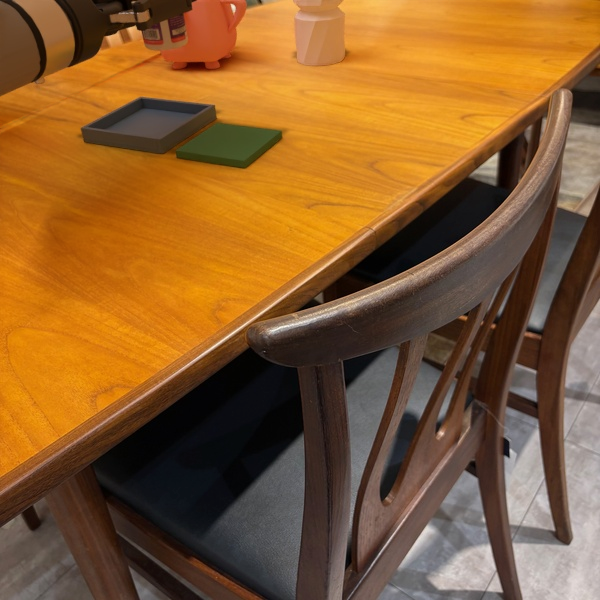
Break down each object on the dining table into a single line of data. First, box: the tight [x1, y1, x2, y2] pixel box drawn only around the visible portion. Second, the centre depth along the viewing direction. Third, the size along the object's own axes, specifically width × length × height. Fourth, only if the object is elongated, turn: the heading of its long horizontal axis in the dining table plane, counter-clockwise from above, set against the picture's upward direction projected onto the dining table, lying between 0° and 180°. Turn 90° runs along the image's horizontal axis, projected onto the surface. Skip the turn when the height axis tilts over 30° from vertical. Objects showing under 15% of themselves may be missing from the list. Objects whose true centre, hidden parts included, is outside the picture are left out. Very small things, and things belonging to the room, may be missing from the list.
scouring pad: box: [175, 122, 283, 169], centre depth 79 cm, size 10×10×1 cm
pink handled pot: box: [159, 0, 248, 70], centre depth 109 cm, size 17×16×13 cm
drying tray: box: [80, 96, 218, 155], centre depth 85 cm, size 13×13×2 cm
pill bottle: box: [141, 15, 188, 52], centre depth 73 cm, size 5×5×10 cm
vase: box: [292, 0, 346, 67], centre depth 106 cm, size 9×9×12 cm
